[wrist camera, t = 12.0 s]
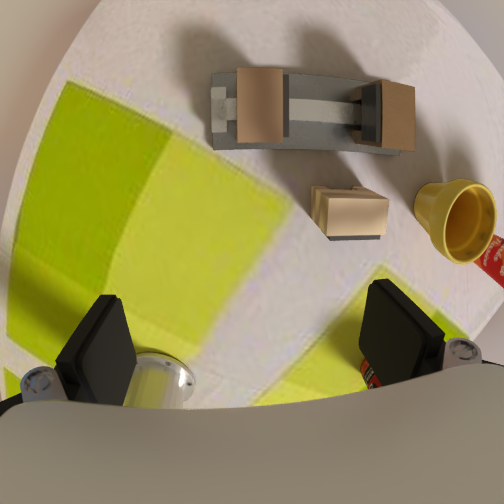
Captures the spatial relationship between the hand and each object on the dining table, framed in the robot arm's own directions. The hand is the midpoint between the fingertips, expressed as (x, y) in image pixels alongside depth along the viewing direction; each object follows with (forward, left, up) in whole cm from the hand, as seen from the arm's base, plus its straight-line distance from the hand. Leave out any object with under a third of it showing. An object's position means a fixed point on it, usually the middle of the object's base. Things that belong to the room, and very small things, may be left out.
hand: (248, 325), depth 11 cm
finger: (+2, +9, -25) cm, 27 cm away
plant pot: (+28, -2, -26) cm, 38 cm away
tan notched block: (+13, -2, -26) cm, 29 cm away
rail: (+9, +9, -26) cm, 29 cm away
